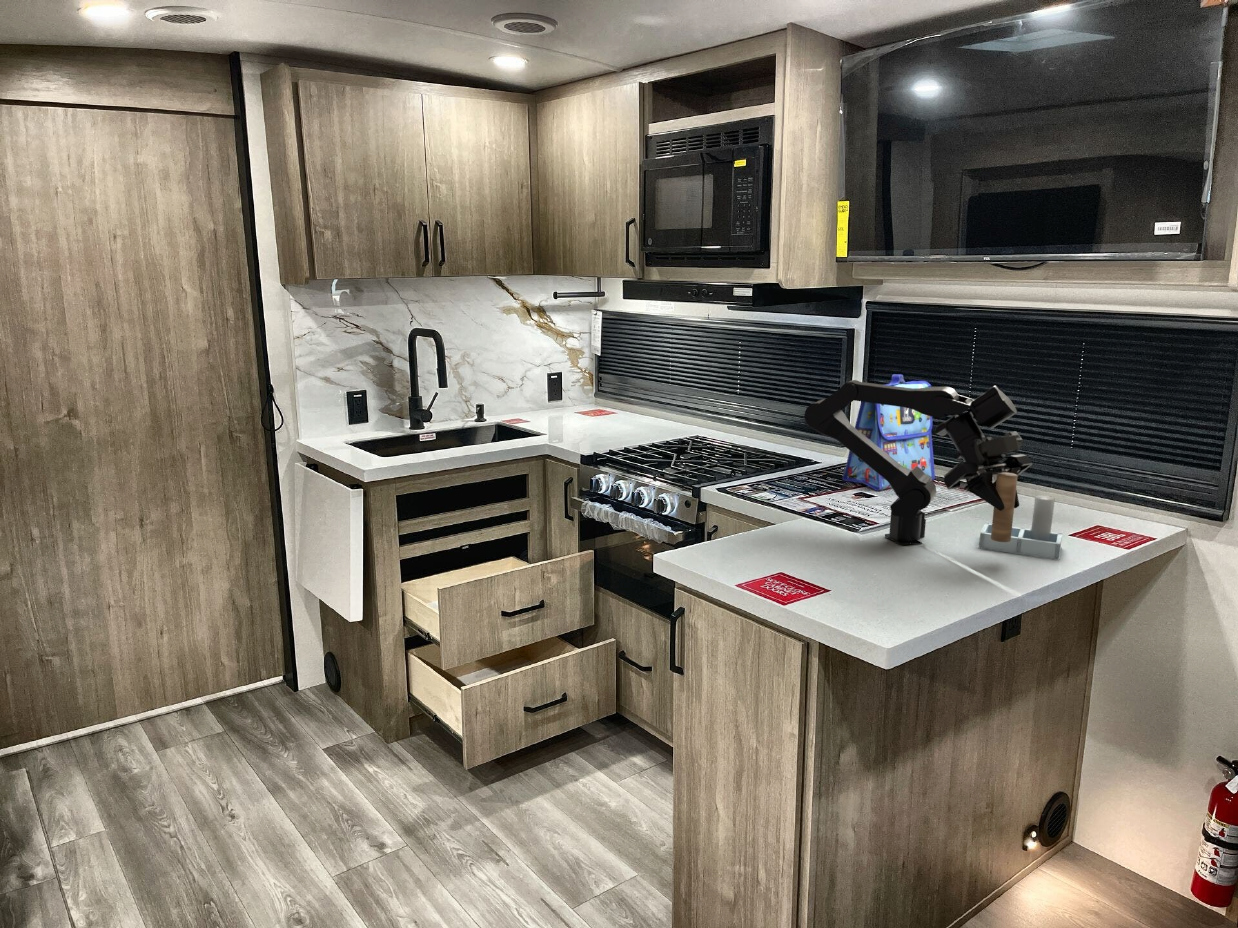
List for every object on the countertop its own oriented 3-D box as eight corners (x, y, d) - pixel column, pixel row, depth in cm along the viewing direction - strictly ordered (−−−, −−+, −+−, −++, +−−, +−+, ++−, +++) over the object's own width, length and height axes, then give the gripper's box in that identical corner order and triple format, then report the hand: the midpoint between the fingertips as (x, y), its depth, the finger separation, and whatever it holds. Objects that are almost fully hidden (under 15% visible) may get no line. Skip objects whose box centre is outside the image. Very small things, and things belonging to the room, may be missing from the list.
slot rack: (977, 551, 183) (979, 533, 183) (983, 539, 191) (985, 522, 190) (1058, 563, 177) (1060, 545, 176) (1060, 550, 184) (1063, 532, 183)
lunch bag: (880, 492, 228) (888, 380, 221) (840, 480, 239) (847, 373, 232) (936, 481, 239) (946, 373, 233) (896, 470, 250) (904, 368, 244)
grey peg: (1037, 553, 180) (1044, 501, 177) (1025, 548, 183) (1031, 496, 181) (1052, 552, 181) (1058, 499, 178) (1039, 546, 184) (1045, 495, 182)
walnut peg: (999, 542, 172) (1005, 477, 169) (986, 537, 176) (993, 473, 173) (1014, 541, 173) (1021, 476, 170) (1002, 535, 177) (1008, 471, 174)
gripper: (960, 422, 168) (1002, 492, 161) (1029, 414, 177) (1072, 480, 169) (926, 454, 177) (964, 522, 170) (993, 445, 185) (1032, 510, 178)
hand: (1009, 508), depth 172 cm, fingers closed on walnut peg, 4 cm apart
